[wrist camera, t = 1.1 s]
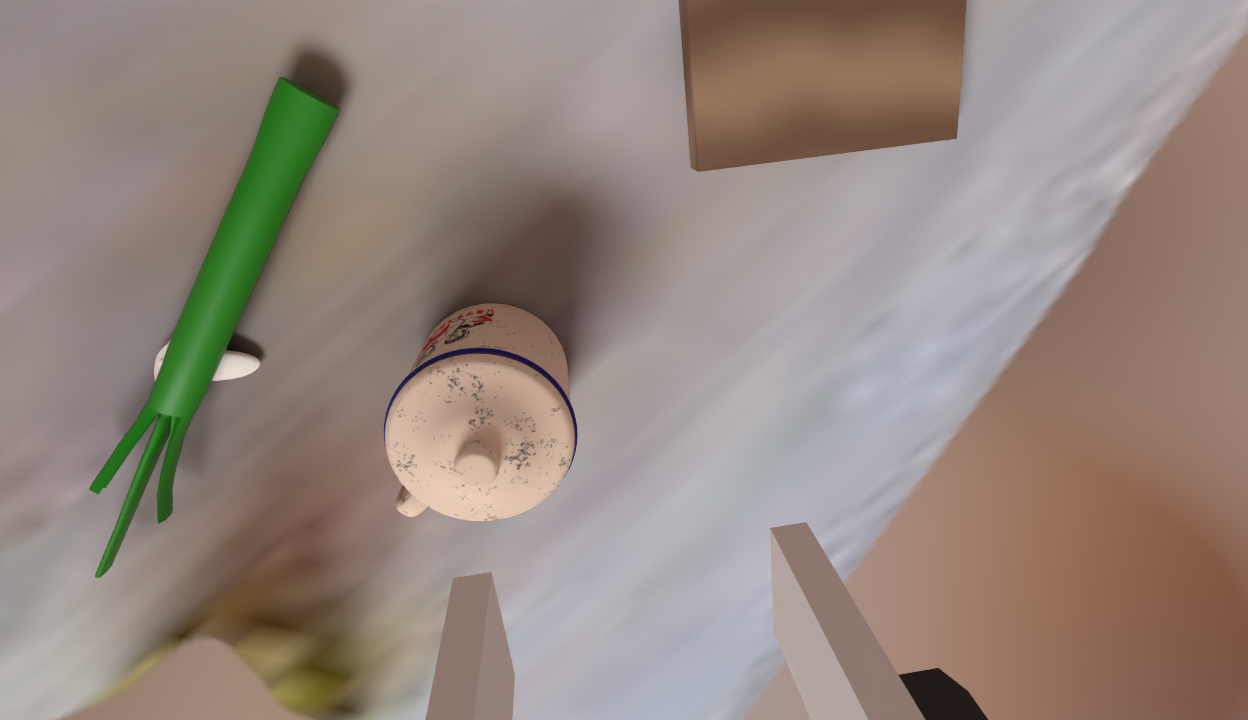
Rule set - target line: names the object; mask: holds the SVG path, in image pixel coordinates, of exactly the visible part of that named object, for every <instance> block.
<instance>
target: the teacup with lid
mask: <svg viewBox="0 0 1248 720" xmlns="http://www.w3.org/2000/svg"><path fill="white" fill-rule="evenodd" d="M384 441H385V447H386V451H387V455H388V458H389V461H390V464H391V466H392V468H393V470H394V472H395V474H396V476H397V477H398V479H399V480H400V482H401V483H402V484H403V485H402V487H401V489H400V492H399V494H398V497H397V500H396V508H397V510H398V511H399V512H401V513H403V514H404V515H406V516H408V517H414V516H416V515H418V514H420V513H421V512H423V511H424V510H425V509H426V508H427V507H430V508H432V509H434V510H436V511H438V512H440V513H442V514H445V515H448V516H451V517H455V518H459V519H464V520H472V521H491V520H498V519H504V518H508V517H512V516H514V515H517V514H520V513H522V512H525V511H527V510H529V509H531V508H532V507H534V506H536V505H537V504H539V503H540V502H542V501H543V500H544V499H546V498H547V497H548V496H549V495H550V494H551V493H552V492H553V491H554V490H555V489H556V488H557V487H558V485H559V484H560V483H561V481H562V480H563V478H564V477H565V475H566V474H567V472H568V470H569V468H570V466H571V464H572V461H573V458H574V455H575V451H576V445H577V424H576V418H575V414H574V411H573V408H572V406H571V403H570V393H569V379H568V366H567V360H566V356H565V353H564V350H563V348H562V346H561V344H560V342H559V340H558V338H557V337H556V335H555V334H554V333H553V331H552V330H551V329H550V328H549V327H548V326H547V325H546V324H545V323H544V322H543V321H541V320H540V319H539V318H537V317H536V316H534V315H533V314H531V313H529V312H527V311H525V310H523V309H520V308H517V307H514V306H510V305H505V304H496V303H487V304H478V305H473V306H469V307H466V308H463V309H461V310H459V311H457V312H455V313H453V314H451V315H450V316H448V317H447V318H445V319H444V320H443V321H442V322H441V323H440V324H438V325H437V327H436V328H435V329H434V330H433V331H432V333H431V334H430V335H429V337H428V339H427V340H426V342H425V344H424V346H423V348H422V350H421V352H420V354H419V356H418V358H417V360H416V362H415V364H414V366H413V368H412V370H411V372H410V374H409V375H408V376H407V377H406V378H405V379H404V380H403V382H402V383H401V384H400V385H399V387H398V388H397V390H396V391H395V393H394V395H393V397H392V399H391V401H390V403H389V406H388V409H387V412H386V417H385V422H384Z"/></svg>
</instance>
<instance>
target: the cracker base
mask: <svg viewBox="0 0 1248 720" xmlns="http://www.w3.org/2000/svg"><path fill="white" fill-rule="evenodd" d="M679 10H680V23H681V37H682V51H683V65H684V78H685V92H686V106H687V120H688V134H689V147H690V161H691V168H692V169H694V170H696V171H698V172H700V171H708V170H716V169H724V168H731V167H739V166H747V165H755V164H763V163H770V162H778V161H786V160H794V159H802V158H809V157H817V156H825V155H833V154H841V153H848V152H856V151H864V150H872V149H880V148H887V147H895V146H903V145H911V144H919V143H926V142H934V141H942V140H950V139H957V129H958V114H959V100H960V85H961V70H962V55H963V41H964V26H965V11H966V0H679Z"/></svg>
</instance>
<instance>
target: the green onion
mask: <svg viewBox="0 0 1248 720" xmlns="http://www.w3.org/2000/svg"><path fill="white" fill-rule="evenodd" d="M339 110H340V109H339V108H337V107H336V106H335V105H333V104H332V103H330V102H328V101H327V100H325V99H323V98H321V97H320V96H318V95H316V94H314V93H313V92H311V91H309V90H307V89H306V88H304V87H302V86H300V85H298V84H296V83H294V82H292V81H290V80H288V79H285V78H283V77H279V80H278V82H277V84H276V86H275V89H274V91H273V93H272V96H271V98H270V101H269V103H268V106H267V108H266V111H265V114H264V117H263V119H262V122H261V125H260V128H259V131H258V134H257V137H256V141H255V143H254V146H253V149H252V151H251V154H250V156H249V159H248V161H247V164H246V166H245V168H244V170H243V173H242V175H241V177H240V180H239V182H238V184H237V186H236V189H235V191H234V193H233V195H232V198H231V200H230V202H229V205H228V207H227V209H226V211H225V214H224V216H223V218H222V221H221V223H220V225H219V228H218V230H217V232H216V234H215V237H214V239H213V241H212V244H211V246H210V248H209V251H208V253H207V255H206V257H205V260H204V262H203V264H202V267H201V269H200V271H199V274H198V276H197V278H196V281H195V283H194V285H193V288H192V290H191V292H190V295H189V297H188V299H187V302H186V304H185V306H184V309H183V311H182V313H181V316H180V318H179V320H178V323H177V325H176V328H175V330H174V332H173V335H172V337H171V339H170V340H169V342H168V344H167V345H165V346H164V347H163V348H162V349H161V350H160V352H159V353H158V355H157V358H156V361H155V367H154V378H155V383H154V386H153V389H152V391H151V394H150V396H149V399H148V401H147V403H146V404H145V406H144V407H143V409H142V411H141V413H140V414H139V416H138V418H137V420H136V421H135V423H134V424H133V425H132V427H131V428H130V429H129V431H128V432H127V433H126V435H125V436H124V437H123V439H122V440H121V442H120V443H119V444H118V446H117V447H116V449H115V450H114V452H113V453H112V455H111V456H110V458H109V459H108V461H107V462H106V464H105V465H104V467H103V468H102V470H101V471H100V472H99V474H98V475H97V477H96V478H95V480H94V481H93V483H92V485H91V486H90V489H89V490H91V491H93V492H95V493H97V494H99V493H100V491H101V490H102V488H106V487H107V485H108V484H109V482H110V481H111V479H112V478H113V476H114V475H115V473H116V472H117V471H118V469H119V468H120V466H121V465H122V463H123V462H124V460H125V459H126V457H127V456H128V454H129V453H130V452H131V450H132V449H133V447H134V446H135V444H136V443H137V442H138V440H139V439H140V438H141V436H142V435H143V434H144V432H145V431H146V430H147V428H148V427H149V426H150V424H151V423H152V422H153V420H154V419H155V418H156V416H157V415H158V413H160V414H159V416H158V419H157V421H156V424H155V427H154V430H153V432H152V434H151V437H150V439H149V442H148V444H147V446H146V449H145V451H144V454H143V456H142V458H141V461H140V463H139V466H138V469H137V471H136V474H135V476H134V479H133V481H132V484H131V486H130V489H129V492H128V494H127V497H126V500H125V502H124V505H123V507H122V510H121V513H120V515H119V518H118V521H117V523H116V526H115V529H114V531H113V533H112V536H111V538H110V541H109V543H108V545H107V548H106V550H105V553H104V555H103V557H102V560H101V562H100V565H99V567H98V569H97V572H96V574H95V577H96V578H99V577H101V576H102V575H104V574H105V573H106V572H107V571H108V570H109V568H110V567H111V566H112V564H113V562H114V559H115V557H116V555H117V552H118V550H119V548H120V546H121V543H122V541H123V539H124V536H125V534H126V532H127V530H128V527H129V525H130V523H131V520H132V518H133V516H134V513H135V511H136V509H137V506H138V504H139V502H140V499H141V497H142V495H143V493H144V490H145V488H146V486H147V483H148V481H149V479H150V476H151V474H152V472H153V470H154V467H155V465H156V463H157V460H158V458H159V456H160V454H161V451H162V449H163V447H164V445H165V443H166V441H167V439H168V437H169V435H170V432H171V436H170V440H169V444H168V448H167V452H166V455H165V459H164V463H163V467H162V471H161V475H160V481H159V486H158V492H157V520H158V524H159V523H161V522H163V521H164V520H166V519H167V518H168V517H169V516H170V515H171V513H172V510H173V491H172V488H173V482H174V477H175V471H176V467H177V463H178V459H179V455H180V451H181V447H182V443H183V440H184V436H185V433H186V431H187V429H188V426H189V424H190V422H191V420H192V418H193V416H194V414H195V412H196V410H197V408H198V406H199V404H200V402H201V401H202V399H203V397H204V395H205V393H206V391H207V389H208V387H209V385H210V383H211V381H220V380H228V379H235V378H239V377H243V376H246V375H248V374H250V373H252V372H254V371H255V370H257V369H258V367H259V365H260V362H259V360H258V359H257V358H256V357H254V356H252V355H249V354H246V353H241V352H235V351H228V350H226V348H227V346H228V344H229V342H230V339H231V337H232V335H233V333H234V331H235V328H236V326H237V324H238V322H239V319H240V317H241V315H242V313H243V310H244V308H245V306H246V304H247V302H248V299H249V297H250V295H251V293H252V291H253V288H254V286H255V284H256V282H257V280H258V277H259V275H260V273H261V271H262V269H263V266H264V264H265V262H266V260H267V258H268V255H269V253H270V251H271V249H272V247H273V244H274V242H275V240H276V238H277V236H278V234H279V231H280V229H281V227H282V225H283V223H284V220H285V218H286V216H287V214H288V212H289V210H290V207H291V205H292V203H293V201H294V199H295V196H296V194H297V192H298V190H299V188H300V186H301V183H302V181H303V179H304V177H305V176H306V174H307V172H308V170H309V168H310V166H311V165H312V163H313V161H314V159H315V158H316V156H317V154H318V152H319V151H320V149H321V147H322V145H323V144H324V142H325V140H326V138H327V136H328V134H329V132H330V130H331V128H332V125H333V123H334V121H335V119H336V117H337V115H338V112H339Z"/></svg>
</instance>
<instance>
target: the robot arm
mask: <svg viewBox="0 0 1248 720" xmlns="http://www.w3.org/2000/svg"><path fill="white" fill-rule="evenodd" d="M770 538H771V565H772V592H773V619H774V633H775V635H776V637H777V640H778V642H779V645H780V647H781V649H782V652H783V654H784V656H785V659H786V661H787V664H788V666H789V668H790V671H791V673H792V675H793V678H794V680H795V683H796V685H797V687H798V690H799V692H800V694H801V697H802V699H803V702H804V704H805V706H806V709H807V711H808V714H809V716H810V718H811V720H988V719H987V717H986V716H985V715H984V713H983V712H982V710H981V709H980V707H979V706H978V705H977V703H976V702H975V700H974V699H973V698H972V696H971V695H970V693H969V692H968V691H967V690H966V689H964V688H963V687H962V686H961V685H959V684H958V683H957V682H956V681H954V680H953V679H952V678H950V677H949V676H948V675H947V674H945V673H944V672H943V671H942V670H940V669H939V668H935V669H930V670H924V671H919V672H912V673H906V674H901V675H898V674H897V672H896V670H895V669H894V667H893V666H892V664H891V662H890V661H889V659H888V657H887V656H886V654H885V652H884V650H883V649H882V647H881V646H880V644H879V642H878V641H877V639H876V637H875V636H874V634H873V632H872V631H871V629H870V627H869V626H868V624H867V622H866V621H865V619H864V617H863V616H862V614H861V612H860V611H859V609H858V607H857V606H856V604H855V602H854V601H853V599H852V597H851V596H850V594H849V593H848V591H847V589H846V587H845V586H844V584H843V582H842V581H841V579H840V577H839V576H838V574H837V572H836V571H835V569H834V568H833V566H832V564H831V563H830V561H829V559H828V558H827V556H826V554H825V553H824V551H823V549H822V548H821V546H820V544H819V543H818V541H817V539H816V538H815V536H814V534H813V533H812V531H811V529H810V528H809V526H808V524H807V523H799V524H793V525H787V526H780V527H774V528H770ZM514 679H515V674H514V669H513V665H512V660H511V656H510V652H509V647H508V643H507V638H506V634H505V630H504V625H503V621H502V616H501V612H500V608H499V603H498V599H497V594H496V590H495V586H494V581H493V577H492V572H490V573H483V574H477V575H471V576H464V577H458V578H453V583H452V588H451V593H450V598H449V603H448V608H447V613H446V619H445V624H444V629H443V634H442V639H441V644H440V649H439V654H438V659H437V664H436V670H435V675H434V680H433V685H432V690H431V695H430V700H429V705H428V710H427V715H426V720H512V714H513V697H514Z"/></svg>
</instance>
